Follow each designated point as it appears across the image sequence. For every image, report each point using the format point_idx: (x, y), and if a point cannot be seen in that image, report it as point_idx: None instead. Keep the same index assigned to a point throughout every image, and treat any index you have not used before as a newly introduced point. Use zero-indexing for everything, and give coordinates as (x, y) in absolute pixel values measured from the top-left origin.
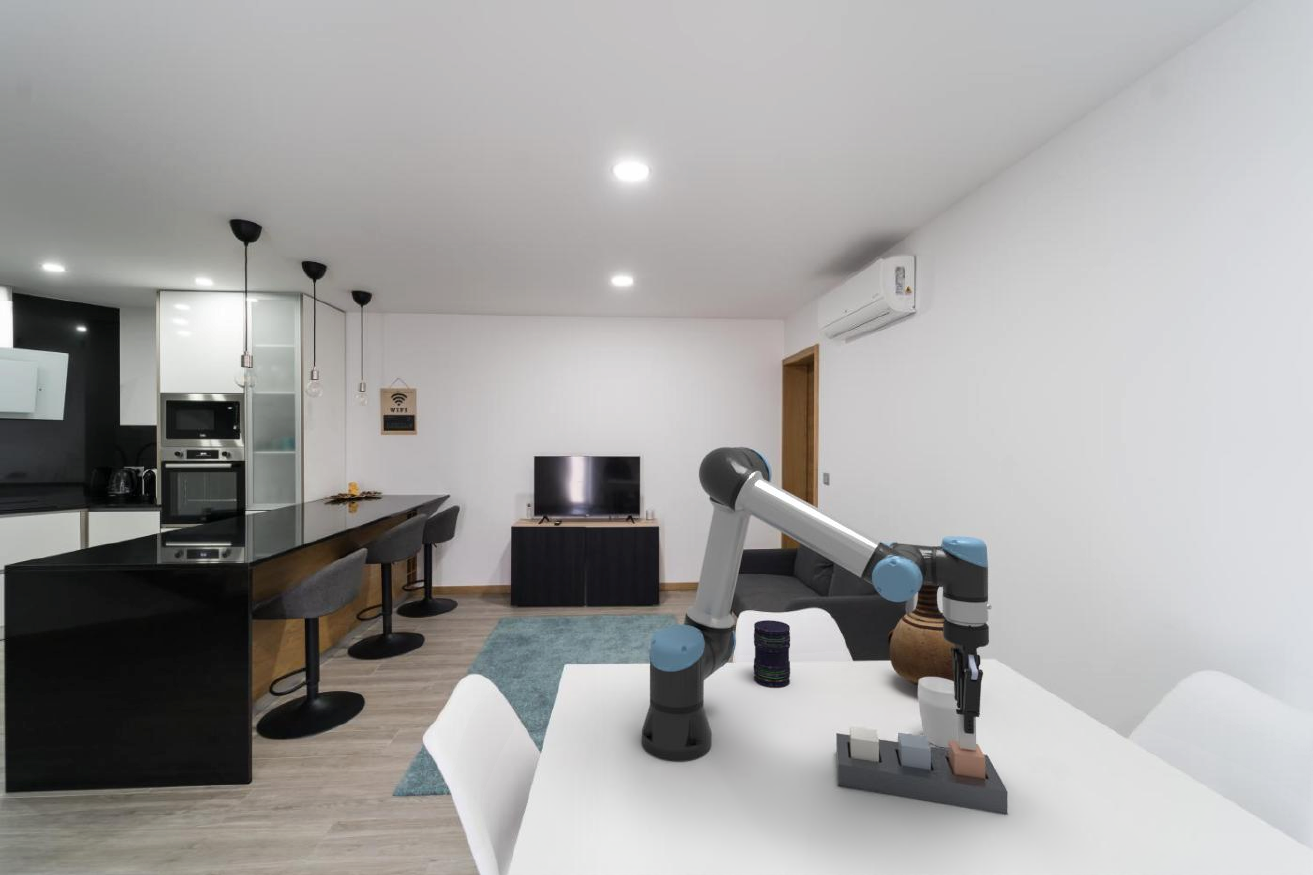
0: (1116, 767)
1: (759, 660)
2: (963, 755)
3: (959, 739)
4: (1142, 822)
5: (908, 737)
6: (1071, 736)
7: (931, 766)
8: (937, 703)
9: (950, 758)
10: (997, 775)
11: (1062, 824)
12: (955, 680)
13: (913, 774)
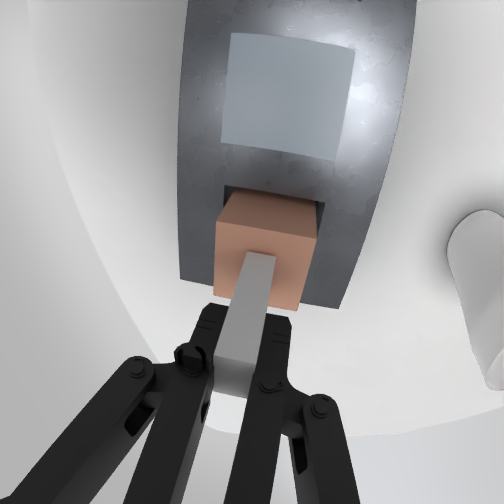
0: (351, 416)
1: None
2: (216, 244)
3: (249, 270)
4: None
5: (314, 80)
6: (424, 408)
7: None
8: (501, 300)
9: (288, 209)
10: None
11: (197, 314)
12: (319, 499)
13: (193, 67)
